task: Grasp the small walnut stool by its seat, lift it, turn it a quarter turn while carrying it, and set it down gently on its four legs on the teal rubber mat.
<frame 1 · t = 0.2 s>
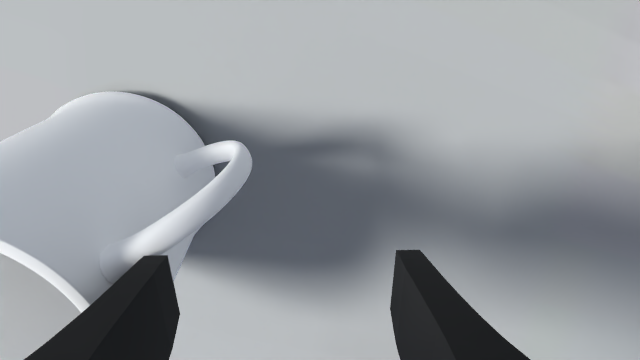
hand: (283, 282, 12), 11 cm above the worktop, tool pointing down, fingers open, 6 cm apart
mug: (159, 164, 22), on the worktop, touching gripper
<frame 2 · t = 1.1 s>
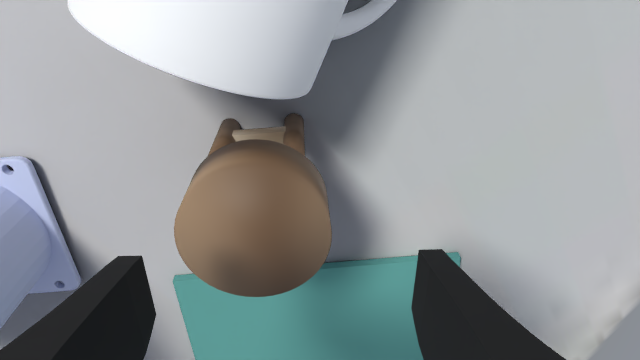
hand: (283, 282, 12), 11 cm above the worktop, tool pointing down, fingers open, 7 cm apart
walnut stool: (266, 153, 21), on the worktop
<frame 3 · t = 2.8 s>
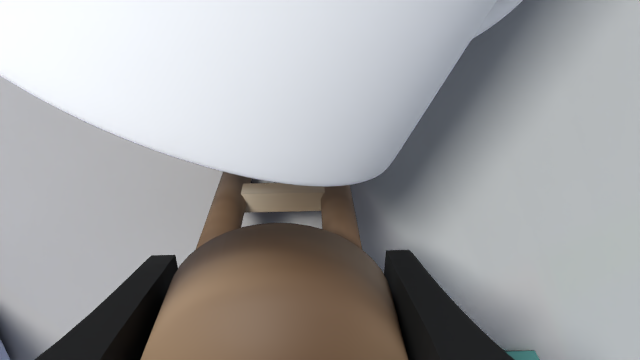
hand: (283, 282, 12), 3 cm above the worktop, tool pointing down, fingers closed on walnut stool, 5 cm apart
walnut stool: (287, 213, 15), on the worktop, touching gripper
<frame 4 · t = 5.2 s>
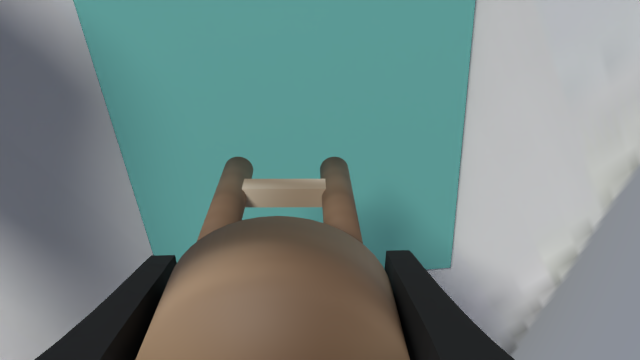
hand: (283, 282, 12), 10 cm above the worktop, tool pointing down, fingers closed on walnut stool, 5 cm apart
teal mat: (293, 143, 21), on the worktop
walnut stool: (287, 209, 15), point 7 cm above the worktop, touching gripper
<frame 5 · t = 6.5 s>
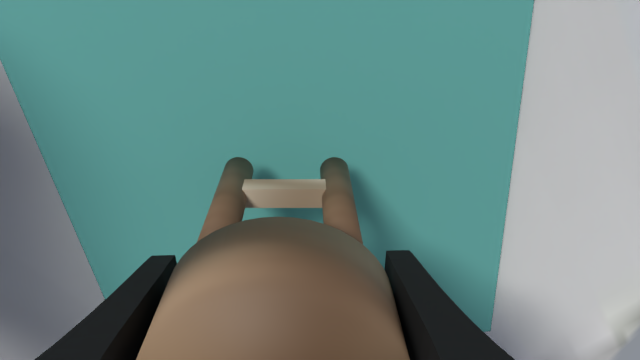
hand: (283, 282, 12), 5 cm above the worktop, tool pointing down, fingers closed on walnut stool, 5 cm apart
teal mat: (288, 186, 16), on the worktop
walnut stool: (287, 210, 15), point 2 cm above the worktop, touching gripper
when the fingers open (5 cm above the worktop, at t = 7.6 s): walnut stool stays where it is, resting on teal mat.
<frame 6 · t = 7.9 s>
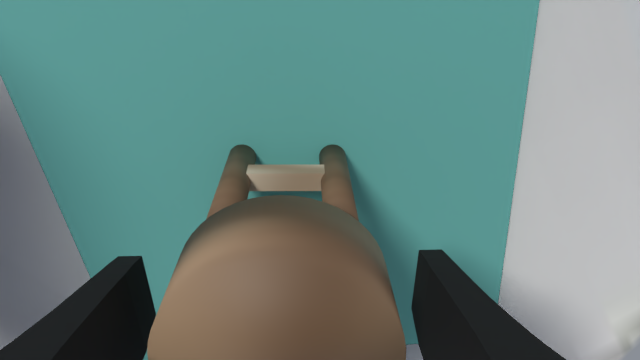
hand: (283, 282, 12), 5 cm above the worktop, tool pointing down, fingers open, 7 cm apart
teal mat: (288, 190, 16), on the worktop
walnut stool: (288, 195, 15), resting on teal mat
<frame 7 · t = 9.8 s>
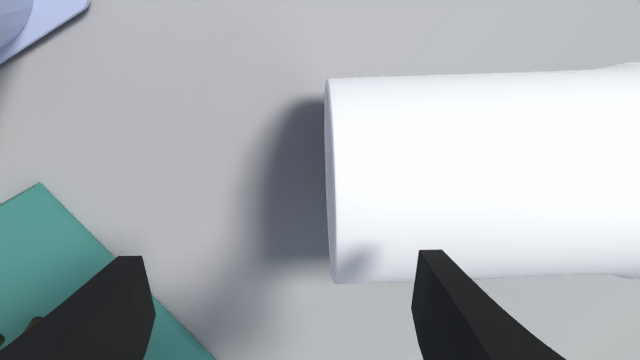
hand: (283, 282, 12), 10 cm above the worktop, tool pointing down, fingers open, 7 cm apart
mug: (605, 187, 19), point 3 cm above the worktop
teal mat: (38, 340, 26), on the worktop
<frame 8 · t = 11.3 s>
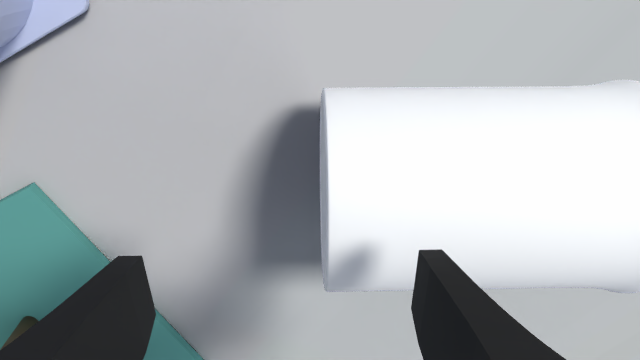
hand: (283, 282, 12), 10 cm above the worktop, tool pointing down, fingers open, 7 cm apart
mug: (595, 200, 19), point 3 cm above the worktop
teal mat: (28, 339, 26), on the worktop
walnut stool: (25, 345, 26), resting on teal mat
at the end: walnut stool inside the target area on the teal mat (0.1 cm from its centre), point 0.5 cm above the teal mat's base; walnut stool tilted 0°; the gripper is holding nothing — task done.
